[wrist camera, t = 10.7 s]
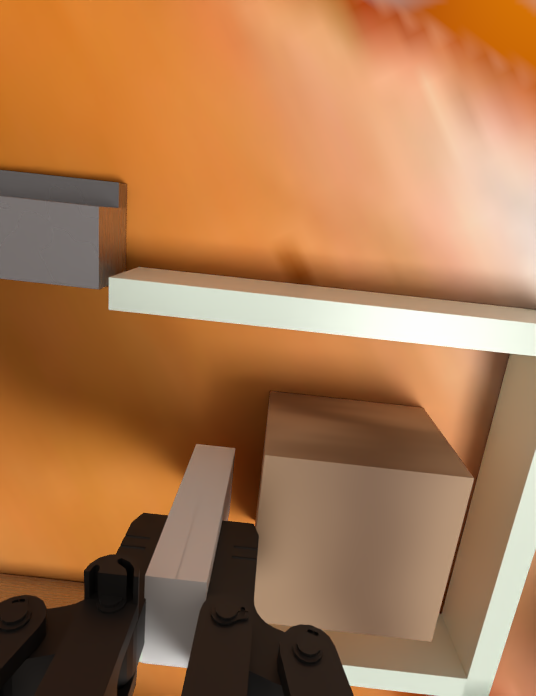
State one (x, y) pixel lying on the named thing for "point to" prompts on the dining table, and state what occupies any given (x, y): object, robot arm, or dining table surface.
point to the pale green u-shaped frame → (493, 478)
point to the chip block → (356, 516)
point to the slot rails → (59, 275)
